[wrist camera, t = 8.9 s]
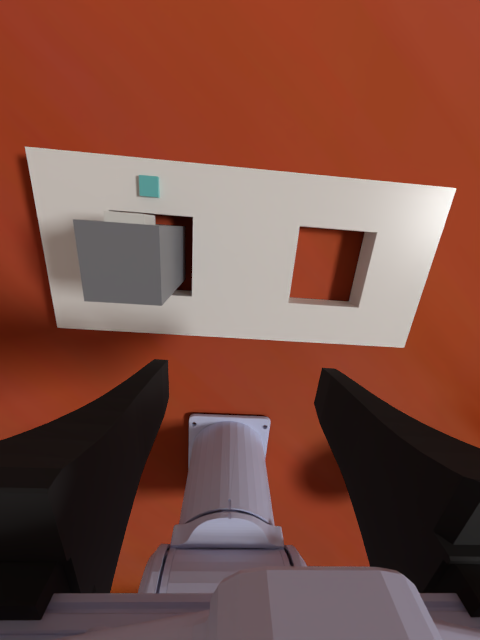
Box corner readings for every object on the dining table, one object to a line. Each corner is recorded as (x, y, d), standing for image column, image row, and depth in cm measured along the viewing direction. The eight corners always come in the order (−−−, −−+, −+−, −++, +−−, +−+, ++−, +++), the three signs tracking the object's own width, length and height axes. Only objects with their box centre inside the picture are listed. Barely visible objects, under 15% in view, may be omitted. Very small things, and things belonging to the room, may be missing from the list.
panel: (391, 338, 23) (406, 349, 21) (71, 319, 21) (54, 329, 19) (436, 191, 19) (460, 187, 17) (45, 154, 17) (21, 145, 15)
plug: (185, 278, 21) (161, 305, 13) (135, 275, 20) (84, 301, 13) (185, 219, 19) (158, 214, 12) (130, 215, 19) (71, 207, 12)
